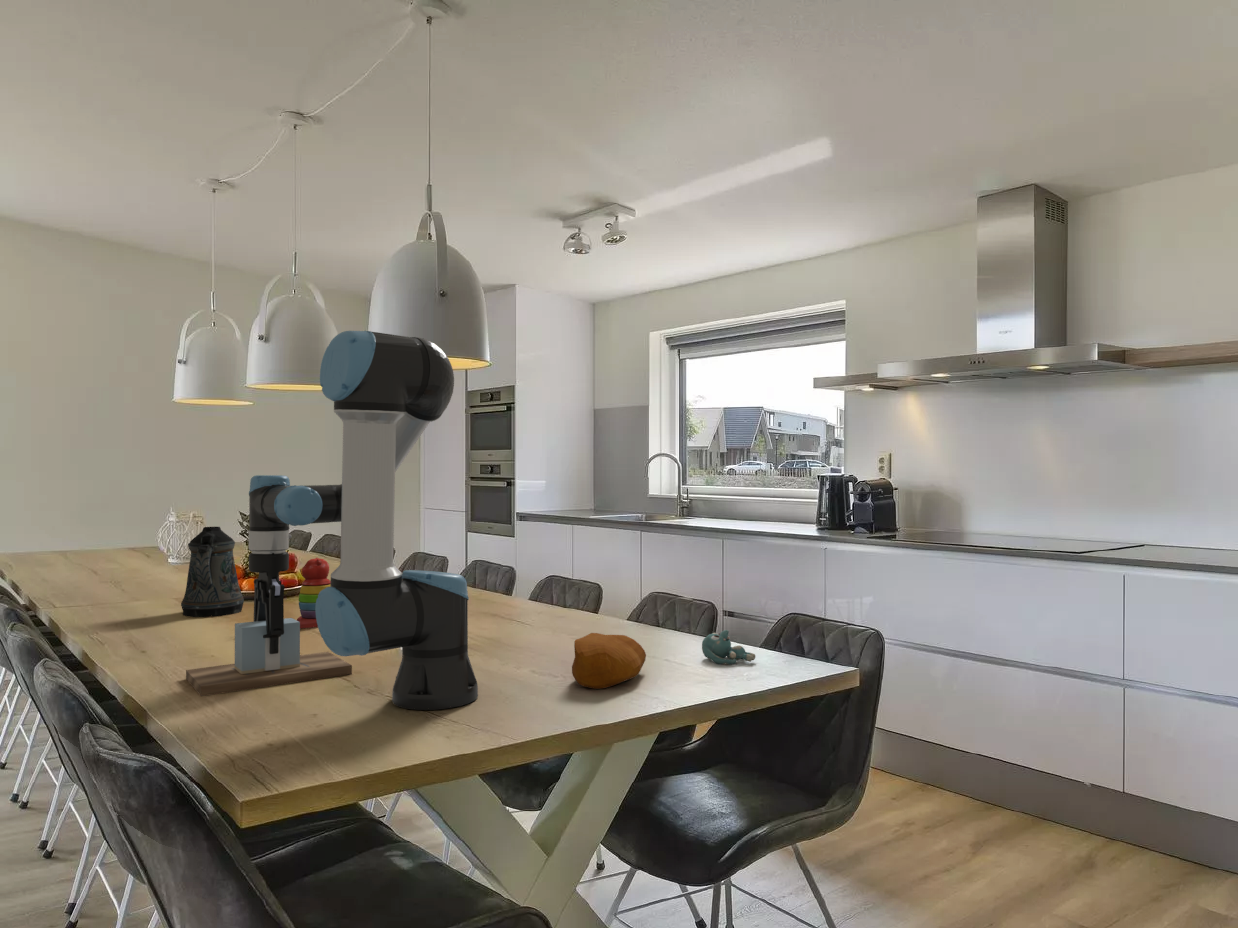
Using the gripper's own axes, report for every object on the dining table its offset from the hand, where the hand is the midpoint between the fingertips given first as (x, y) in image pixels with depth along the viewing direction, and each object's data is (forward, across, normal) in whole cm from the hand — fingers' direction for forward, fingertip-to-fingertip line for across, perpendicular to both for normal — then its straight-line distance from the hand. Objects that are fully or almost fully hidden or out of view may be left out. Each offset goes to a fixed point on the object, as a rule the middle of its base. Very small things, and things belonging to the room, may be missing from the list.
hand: (267, 666), depth 172 cm
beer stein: (+3, +89, -8) cm, 90 cm away
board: (+2, 0, 0) cm, 2 cm away
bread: (+2, -44, -54) cm, 69 cm away
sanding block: (0, 0, 0) cm, 0 cm away
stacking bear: (+2, +53, -26) cm, 59 cm away
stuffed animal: (+1, -46, -83) cm, 95 cm away
